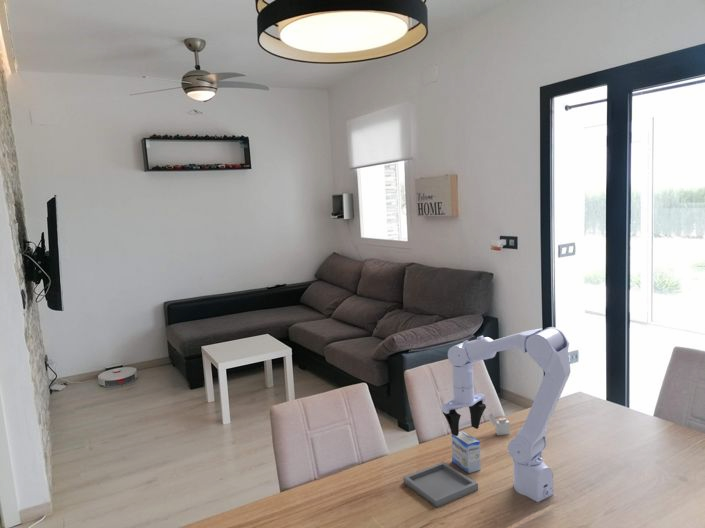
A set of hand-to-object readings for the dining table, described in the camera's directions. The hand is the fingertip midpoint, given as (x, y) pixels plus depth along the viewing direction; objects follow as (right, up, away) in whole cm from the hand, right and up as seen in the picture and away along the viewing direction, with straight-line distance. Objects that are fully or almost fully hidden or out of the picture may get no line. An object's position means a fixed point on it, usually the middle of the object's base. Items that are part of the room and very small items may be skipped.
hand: (465, 431), depth 143 cm
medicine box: (+1, -11, +1) cm, 11 cm away
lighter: (+15, -8, +19) cm, 25 cm away
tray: (-9, -12, -9) cm, 17 cm away
